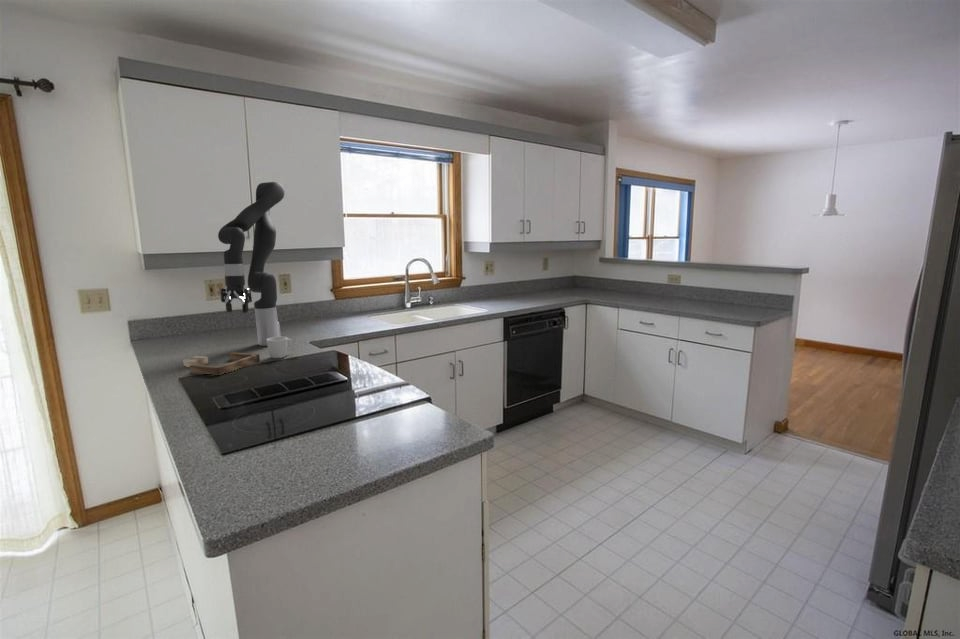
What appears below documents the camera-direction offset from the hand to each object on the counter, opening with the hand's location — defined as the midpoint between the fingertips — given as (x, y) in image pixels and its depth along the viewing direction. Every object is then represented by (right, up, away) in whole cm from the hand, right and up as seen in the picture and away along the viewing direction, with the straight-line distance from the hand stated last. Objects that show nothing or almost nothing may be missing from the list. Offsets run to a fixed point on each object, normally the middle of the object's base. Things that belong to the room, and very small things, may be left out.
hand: (237, 312), depth 209 cm
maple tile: (-8, -21, -16) cm, 28 cm away
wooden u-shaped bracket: (+6, -22, -21) cm, 30 cm away
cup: (+21, -19, -6) cm, 29 cm away
